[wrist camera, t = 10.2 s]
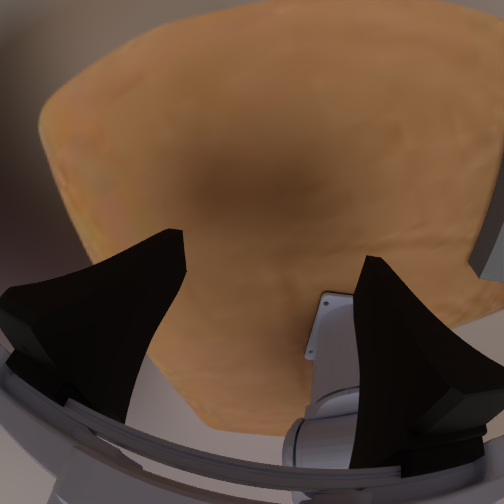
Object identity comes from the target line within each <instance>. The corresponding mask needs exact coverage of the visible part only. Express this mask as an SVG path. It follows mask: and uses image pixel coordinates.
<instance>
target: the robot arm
mask: <svg viewBox="0 0 504 504" xmlns="http://www.w3.org/2000/svg"><path fill="white" fill-rule="evenodd" d="M186 272H187V270H186V261H185V252H184V242H183V231H182V230H177V229H166V230H164V231H161V232H159V233H157V234H155V235H153V236H151V237H149V238H147V239H146V240H144V241H142V242H140V243H138V244H136V245H134V246H132V247H130V248H129V249H127V250H125V251H122V252H120V253H118V254H116V255H114V256H112V257H110V258H109V259H106V260H104V261H102V262H100V263H97V264H95V265H92V266H90V267H88V268H85V269H82V270H80V271H77V272H73V273H70V274H67V275H65V276H61V277H58V278H54V279H51V280H46V281H42V282H38V283H33V284H27V285H21V286H13V287H10V288H8V289H7V290H6V291H5V292H4V293H3V294H2V295H1V297H0V328H1V330H2V331H3V333H4V334H5V336H6V337H7V339H8V340H9V342H10V343H11V344H12V346H13V347H14V349H15V350H14V351H13V352H12V354H10V352H8V350H7V349H6V348H4V347H3V346H2V345H1V344H0V426H1V427H2V428H3V429H4V431H5V432H6V433H7V434H8V435H9V436H10V437H11V438H12V439H13V440H14V441H15V442H16V443H17V444H18V445H19V446H20V447H21V448H22V449H23V450H24V451H25V452H26V453H27V454H28V455H29V456H30V457H31V458H32V459H33V460H34V461H36V462H37V463H38V464H39V465H40V466H41V467H42V468H43V469H45V470H46V471H47V472H48V473H49V474H51V475H52V476H53V477H54V478H56V479H57V480H56V482H55V484H54V487H53V490H52V493H51V495H50V497H49V500H48V502H47V504H278V503H271V502H264V501H257V500H251V499H246V498H240V497H235V496H230V495H226V494H221V493H217V492H213V491H209V490H205V489H201V488H197V487H194V486H190V485H187V484H184V483H180V482H177V481H174V480H171V479H168V478H165V477H162V476H159V475H156V474H153V473H151V472H148V471H145V470H143V467H142V466H141V465H140V464H138V463H137V462H135V461H133V460H131V459H130V458H128V457H127V456H125V455H124V454H123V453H122V452H121V451H120V450H119V449H118V448H116V447H114V446H112V445H111V444H109V443H107V442H105V441H103V440H102V439H100V438H98V437H97V436H99V437H101V438H103V439H105V440H107V441H109V442H111V443H113V444H115V445H117V446H120V447H122V448H124V449H126V450H129V451H131V452H133V453H136V454H138V455H141V456H143V457H146V458H148V459H151V460H154V461H156V462H159V463H162V464H165V465H168V466H171V467H174V468H177V469H180V470H183V471H187V472H190V473H194V474H197V475H201V476H205V477H209V478H213V479H217V480H222V481H226V482H231V483H236V484H242V485H248V486H254V487H260V488H268V489H277V490H287V491H291V493H292V499H293V502H294V504H496V503H498V502H500V501H502V500H503V499H504V435H503V436H500V437H497V438H494V439H492V440H489V441H487V442H485V443H483V439H482V436H484V435H485V434H486V433H487V428H486V423H488V422H489V421H490V420H492V419H493V418H494V417H495V416H497V415H498V414H499V413H500V412H501V411H503V410H504V367H503V366H502V365H500V364H498V363H496V362H495V361H493V360H491V359H489V358H488V357H486V356H485V355H483V354H482V353H480V352H479V351H477V350H476V349H474V348H473V347H472V346H470V345H469V344H467V343H466V342H465V341H464V340H462V339H461V338H460V337H458V336H457V335H456V334H455V333H453V332H452V331H451V330H450V329H449V328H448V327H447V326H445V325H444V324H443V323H442V322H441V321H440V320H439V319H438V318H437V317H436V316H435V315H434V314H433V313H432V312H430V311H429V310H428V309H427V307H426V306H425V305H424V304H423V303H422V302H421V301H420V300H419V299H418V298H417V297H416V296H415V295H414V294H413V292H412V291H411V290H410V289H409V288H408V287H407V286H406V285H405V283H404V282H403V281H402V280H401V279H400V278H399V277H398V275H397V274H396V273H395V272H394V271H393V270H392V268H391V267H390V266H389V265H388V264H387V263H386V262H385V261H384V260H383V259H382V258H381V257H374V256H367V255H366V258H365V262H364V265H363V268H362V271H361V274H360V277H359V280H358V283H357V286H356V289H355V292H354V295H353V296H352V295H344V294H336V293H324V294H323V295H322V297H321V300H320V304H319V308H318V311H317V315H316V318H315V322H314V325H313V328H312V332H311V335H310V338H309V342H308V345H307V348H306V351H305V355H304V357H305V359H308V360H313V374H312V388H311V401H310V404H311V405H307V406H306V407H305V417H304V418H299V419H297V420H296V421H295V422H294V423H293V424H292V426H291V428H290V429H289V430H288V432H287V434H286V436H285V440H284V443H283V450H282V465H283V466H279V465H271V464H264V463H256V462H251V461H245V460H240V459H234V458H229V457H225V456H220V455H216V454H211V453H208V452H204V451H200V450H196V449H193V448H189V447H185V446H182V445H178V444H175V443H172V442H169V441H166V440H163V439H160V438H157V437H155V436H152V435H149V434H147V433H144V432H141V431H139V430H136V429H134V428H131V427H129V426H127V425H125V420H126V415H127V411H128V407H129V403H130V399H131V395H132V392H133V388H134V385H135V382H136V379H137V375H138V373H139V370H140V367H141V364H142V361H143V359H144V356H145V354H146V351H147V349H148V346H149V344H150V341H151V339H152V337H153V335H154V333H155V331H156V330H157V328H158V326H159V324H160V323H161V321H162V319H163V317H164V316H165V314H166V312H167V311H168V309H169V307H170V305H171V304H172V302H173V300H174V298H175V297H176V295H177V293H178V291H179V289H180V287H181V284H182V282H183V280H184V277H185V274H186ZM324 302H328V303H324ZM96 435H97V436H96Z"/></svg>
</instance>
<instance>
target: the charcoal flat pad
mask: <svg viewBox="0 0 504 504" xmlns="http://www.w3.org/2000/svg"><path fill="white" fill-rule="evenodd" d="M468 263H469V264H470V266H471V267H472V269H473V270H474V272H475V273H476V275H477V276H478V278H479V279H484V280H491V281H498V282H504V154H503V159H502V163H501V168H500V172H499V176H498V180H497V183H496V187H495V191H494V194H493V197H492V201H491V204H490V207H489V210H488V213H487V216H486V219H485V222H484V224H483V227H482V230H481V232H480V235H479V237H478V240H477V242H476V245H475V247H474V250H473V252H472V254H471V257H470V259H469V261H468Z"/></svg>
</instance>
